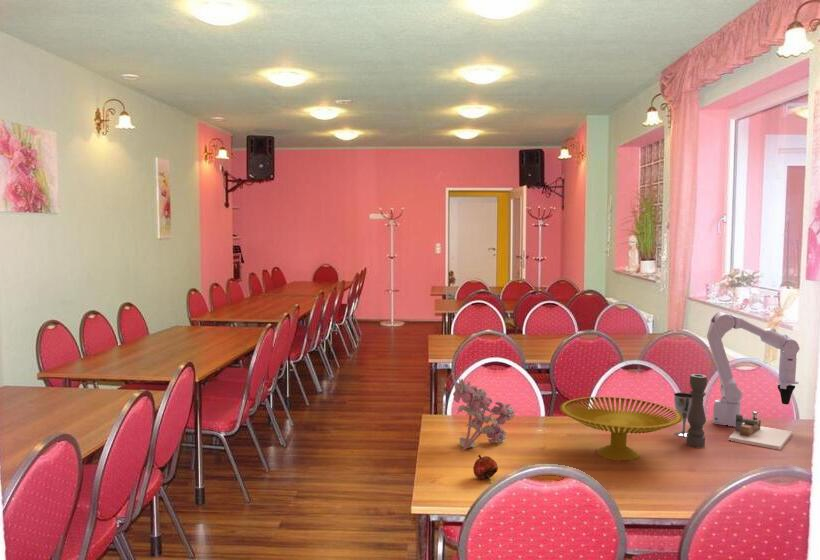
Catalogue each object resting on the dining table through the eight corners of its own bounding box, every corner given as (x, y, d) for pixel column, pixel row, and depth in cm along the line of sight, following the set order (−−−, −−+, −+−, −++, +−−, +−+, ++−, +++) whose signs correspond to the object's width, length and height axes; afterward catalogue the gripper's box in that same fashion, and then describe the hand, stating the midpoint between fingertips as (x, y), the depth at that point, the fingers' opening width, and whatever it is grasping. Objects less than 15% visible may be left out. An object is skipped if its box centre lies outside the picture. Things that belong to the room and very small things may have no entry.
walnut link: (750, 425, 273) (750, 417, 273) (761, 427, 270) (762, 419, 270) (738, 434, 262) (738, 426, 261) (750, 436, 259) (750, 428, 259)
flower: (509, 456, 234) (520, 383, 242) (442, 445, 238) (454, 372, 246) (509, 464, 252) (519, 395, 260) (447, 453, 256) (458, 385, 265)
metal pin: (750, 419, 270) (751, 412, 269) (752, 418, 271) (752, 410, 271) (757, 420, 268) (758, 413, 268) (759, 419, 270) (759, 411, 270)
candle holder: (706, 448, 250) (709, 378, 248) (687, 446, 251) (690, 377, 249) (702, 442, 256) (706, 374, 254) (684, 441, 257) (687, 373, 255)
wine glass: (670, 435, 264) (672, 396, 263) (673, 430, 271) (675, 391, 270) (693, 439, 260) (695, 398, 259) (696, 433, 267) (698, 394, 266)
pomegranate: (500, 487, 217) (491, 459, 224) (503, 474, 212) (494, 446, 219) (477, 491, 216) (468, 463, 223) (479, 478, 211) (470, 450, 218)
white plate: (728, 440, 259) (728, 437, 259) (743, 426, 277) (743, 423, 277) (780, 449, 249) (780, 446, 249) (791, 434, 267) (792, 431, 267)
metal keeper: (735, 430, 267) (736, 415, 266) (736, 429, 268) (737, 414, 268) (757, 434, 262) (757, 418, 262) (758, 433, 264) (759, 417, 263)
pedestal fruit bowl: (595, 480, 218) (597, 432, 217) (538, 440, 257) (539, 399, 255) (707, 469, 229) (710, 423, 227) (636, 432, 267) (637, 393, 266)
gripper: (795, 373, 265) (793, 409, 267) (802, 367, 277) (800, 401, 278) (774, 371, 270) (772, 406, 271) (782, 365, 281) (780, 398, 282)
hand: (785, 403), depth 275 cm, fingers closed
